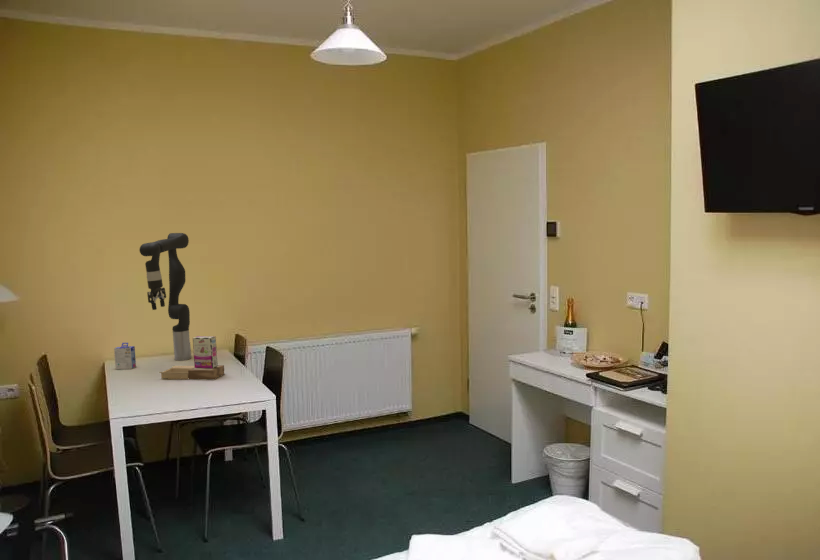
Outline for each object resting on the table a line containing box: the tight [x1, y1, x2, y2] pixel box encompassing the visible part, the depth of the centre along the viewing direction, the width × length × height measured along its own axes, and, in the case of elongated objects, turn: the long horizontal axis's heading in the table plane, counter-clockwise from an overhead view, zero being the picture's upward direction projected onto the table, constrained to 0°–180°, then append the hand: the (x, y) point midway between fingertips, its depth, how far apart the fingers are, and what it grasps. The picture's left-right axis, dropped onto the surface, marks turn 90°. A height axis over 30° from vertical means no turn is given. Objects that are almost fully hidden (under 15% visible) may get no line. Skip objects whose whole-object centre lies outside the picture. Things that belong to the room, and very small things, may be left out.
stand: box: [188, 364, 225, 380], centre depth 343 cm, size 12×14×5 cm
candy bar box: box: [192, 335, 218, 369], centre depth 342 cm, size 11×5×16 cm, turn 75°
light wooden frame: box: [159, 365, 195, 380], centre depth 345 cm, size 14×16×4 cm
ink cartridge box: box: [113, 342, 137, 370], centre depth 368 cm, size 10×6×14 cm, turn 89°
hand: (158, 308), depth 359 cm, fingers open, 8 cm apart
